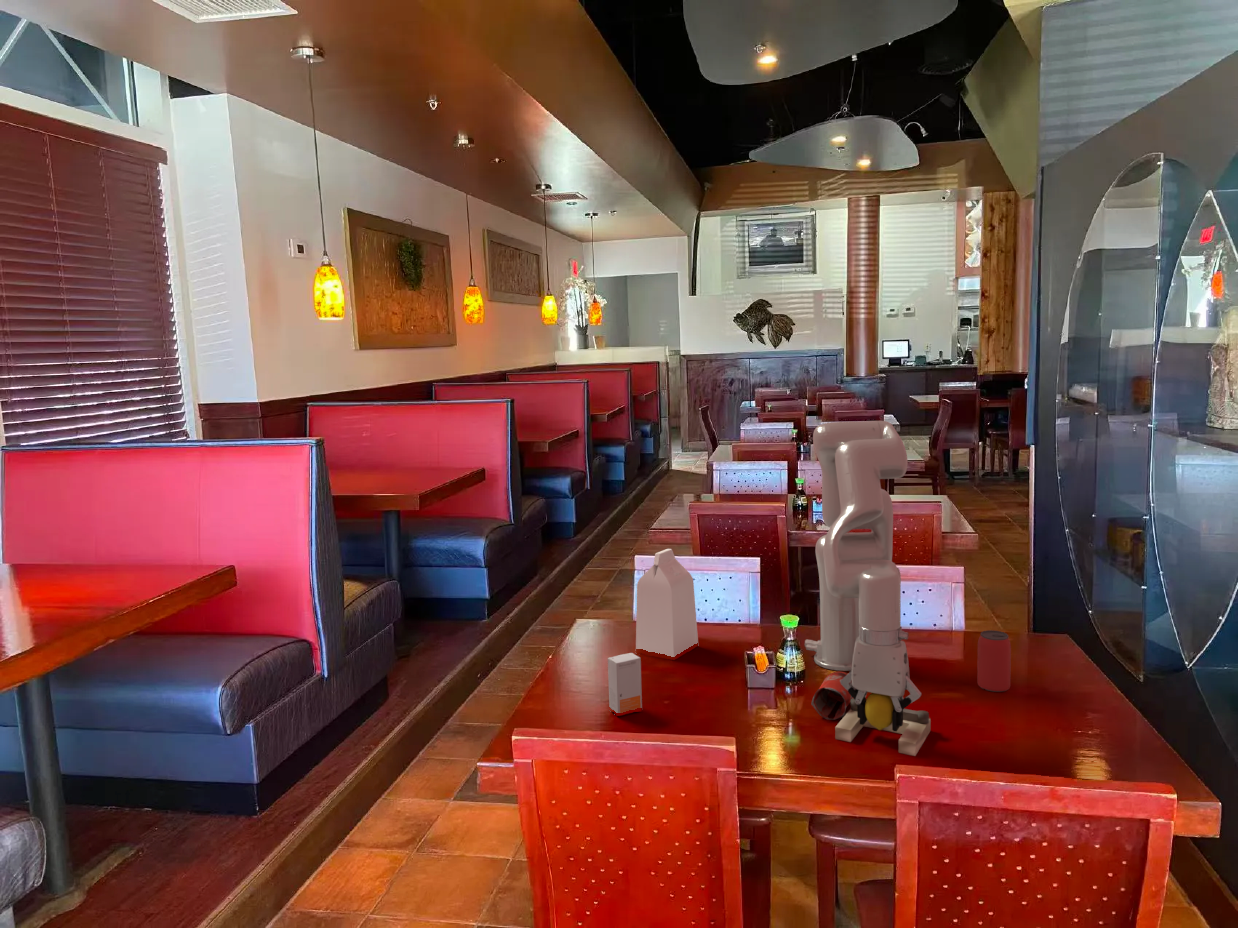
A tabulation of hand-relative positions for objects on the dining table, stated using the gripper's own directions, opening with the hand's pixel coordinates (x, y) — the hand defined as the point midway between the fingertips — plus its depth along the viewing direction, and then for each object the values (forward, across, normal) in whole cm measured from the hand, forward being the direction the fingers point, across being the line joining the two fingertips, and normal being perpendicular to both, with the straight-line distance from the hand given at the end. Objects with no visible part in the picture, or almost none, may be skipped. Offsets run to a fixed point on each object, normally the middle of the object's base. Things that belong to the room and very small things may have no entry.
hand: (880, 724), depth 160 cm
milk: (+3, +61, -25) cm, 66 cm away
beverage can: (+3, +12, -10) cm, 16 cm away
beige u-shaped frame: (+3, 0, -2) cm, 3 cm away
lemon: (+1, 0, 0) cm, 1 cm away
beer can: (+3, -15, -36) cm, 39 cm away
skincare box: (+3, +50, +12) cm, 52 cm away
